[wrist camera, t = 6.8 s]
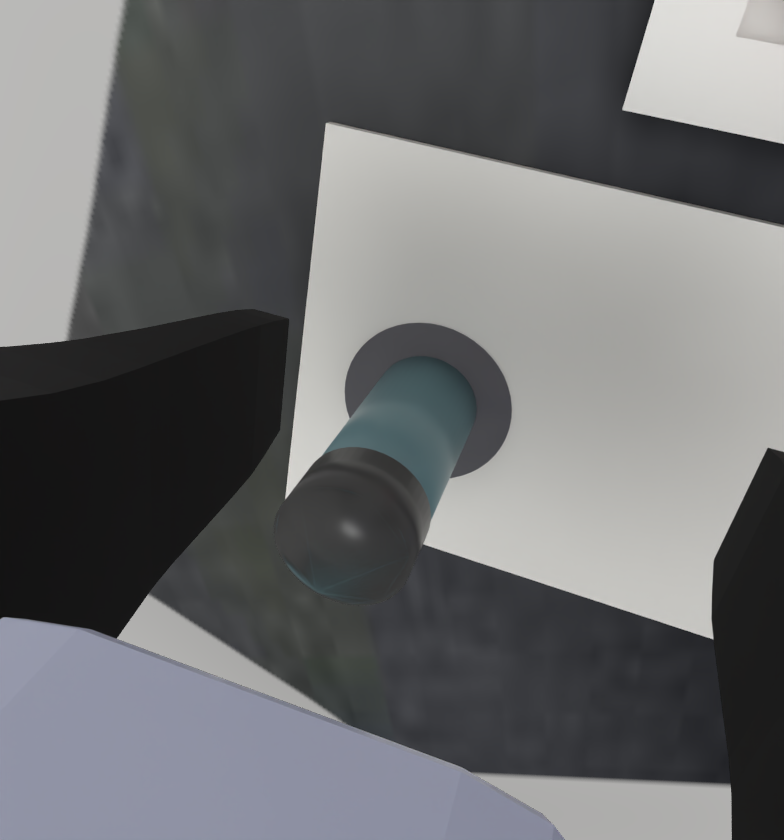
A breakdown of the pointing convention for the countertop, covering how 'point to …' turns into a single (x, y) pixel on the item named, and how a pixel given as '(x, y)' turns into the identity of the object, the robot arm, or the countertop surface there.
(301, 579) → the teal cylinder
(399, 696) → the countertop surface
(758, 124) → the button housing
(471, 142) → the countertop surface
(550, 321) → the paper
